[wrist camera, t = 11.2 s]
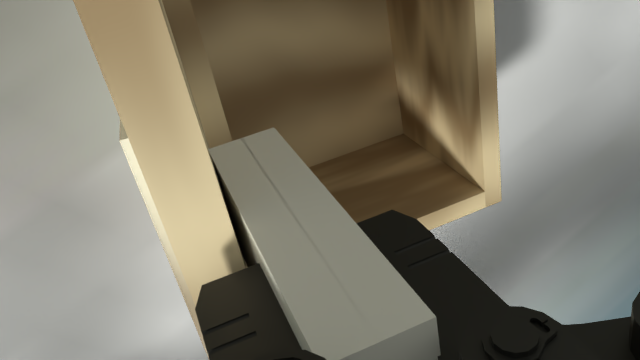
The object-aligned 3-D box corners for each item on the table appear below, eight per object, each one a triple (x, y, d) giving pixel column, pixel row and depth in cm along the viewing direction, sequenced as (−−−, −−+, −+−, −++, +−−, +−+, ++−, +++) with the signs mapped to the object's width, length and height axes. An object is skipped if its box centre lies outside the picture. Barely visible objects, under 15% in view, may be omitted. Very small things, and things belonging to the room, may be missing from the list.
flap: (359, 615, 16) (318, 634, 16) (259, 302, 28) (235, 310, 28) (-180, -1033, 4) (-377, -1039, 4) (50, -342, 16) (6, -335, 16)
